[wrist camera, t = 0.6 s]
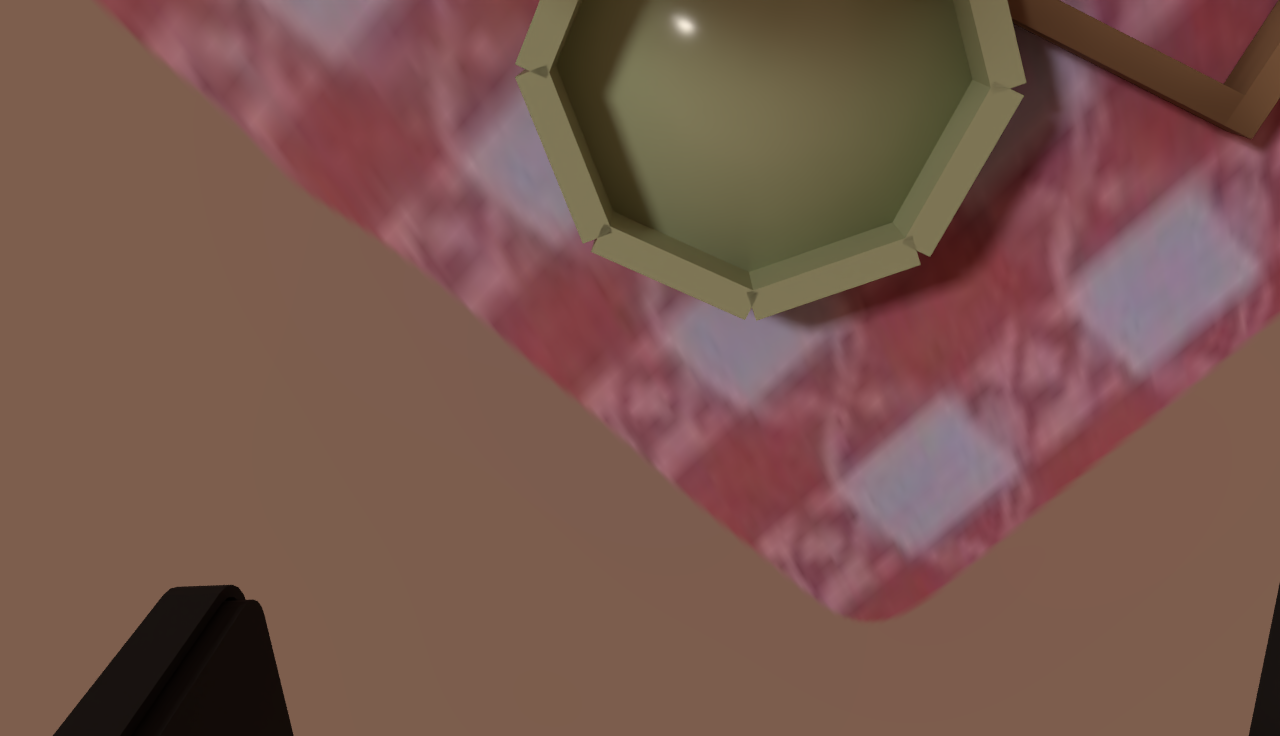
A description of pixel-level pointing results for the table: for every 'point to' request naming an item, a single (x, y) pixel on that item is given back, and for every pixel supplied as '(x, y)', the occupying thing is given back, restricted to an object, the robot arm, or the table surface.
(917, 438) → the table surface
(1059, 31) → the brown rectangular frame
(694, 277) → the dish
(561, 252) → the table surface
